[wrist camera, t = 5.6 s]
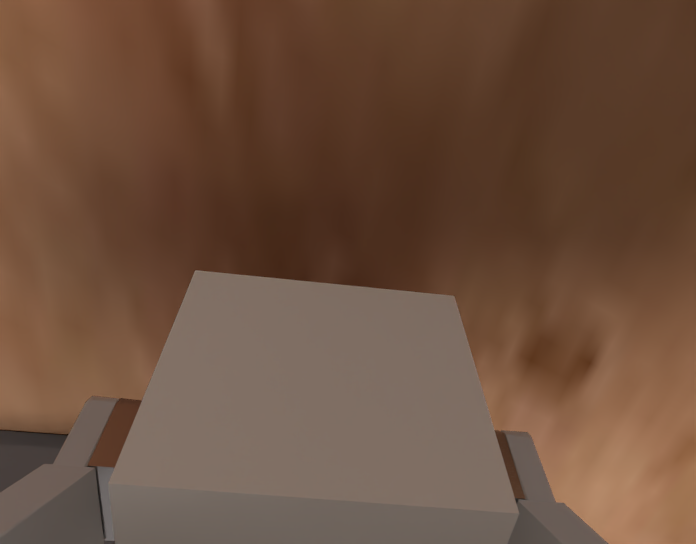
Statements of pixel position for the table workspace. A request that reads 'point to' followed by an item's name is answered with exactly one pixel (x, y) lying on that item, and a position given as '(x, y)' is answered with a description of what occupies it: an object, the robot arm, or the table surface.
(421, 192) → the table surface
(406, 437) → the cream cube
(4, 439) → the box
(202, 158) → the table surface
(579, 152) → the table surface
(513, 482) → the robot arm
